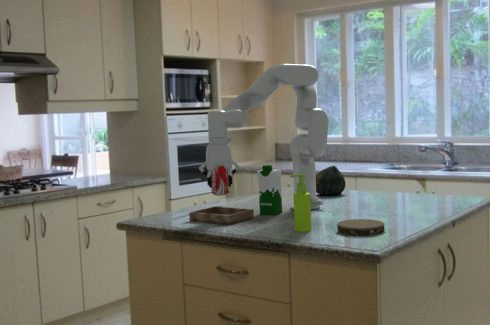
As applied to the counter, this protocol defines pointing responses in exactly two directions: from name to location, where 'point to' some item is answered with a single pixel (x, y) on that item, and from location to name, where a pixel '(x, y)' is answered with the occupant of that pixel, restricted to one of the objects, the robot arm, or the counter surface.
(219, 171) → the soda can
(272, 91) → the robot arm
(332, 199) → the counter surface
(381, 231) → the brown round disc
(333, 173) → the squash
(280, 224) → the counter surface
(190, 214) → the walnut tray
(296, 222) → the soap dispenser
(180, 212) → the counter surface
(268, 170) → the milk carton
